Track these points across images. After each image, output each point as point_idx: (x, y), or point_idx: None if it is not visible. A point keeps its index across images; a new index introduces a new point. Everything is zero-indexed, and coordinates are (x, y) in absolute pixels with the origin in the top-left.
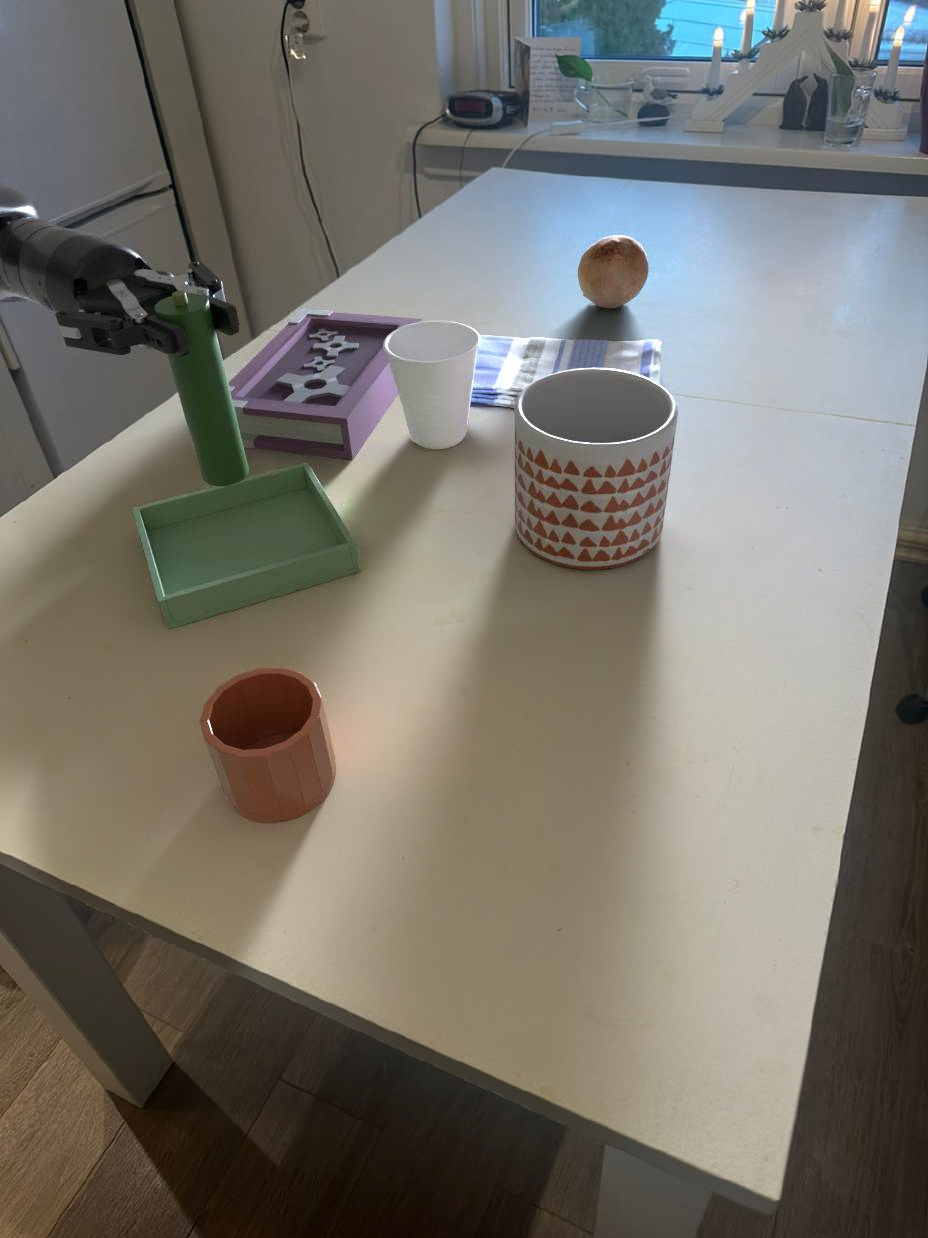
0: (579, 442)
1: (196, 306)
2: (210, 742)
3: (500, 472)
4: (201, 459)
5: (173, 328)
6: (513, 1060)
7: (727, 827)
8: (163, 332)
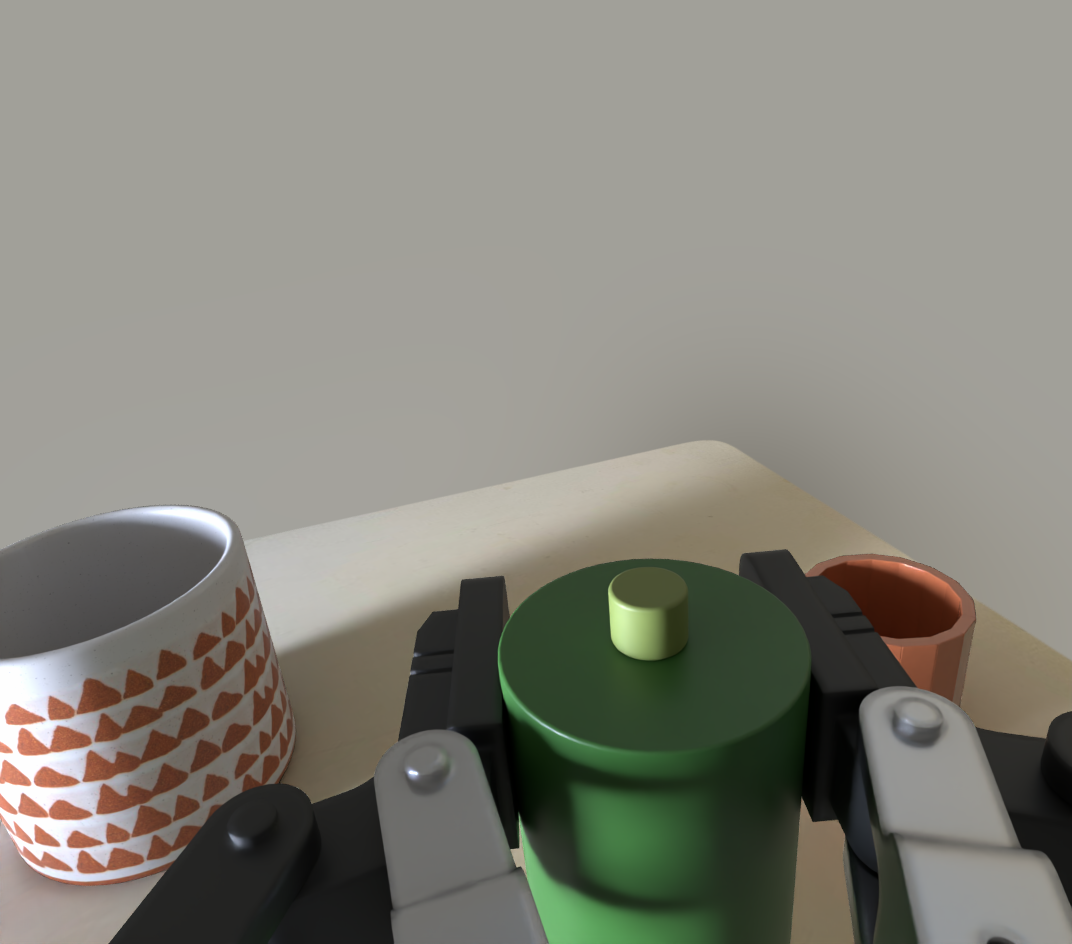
0: (231, 530)
1: (610, 579)
2: (965, 592)
3: None
4: None
5: (781, 550)
6: (795, 493)
7: (547, 507)
8: (824, 599)
